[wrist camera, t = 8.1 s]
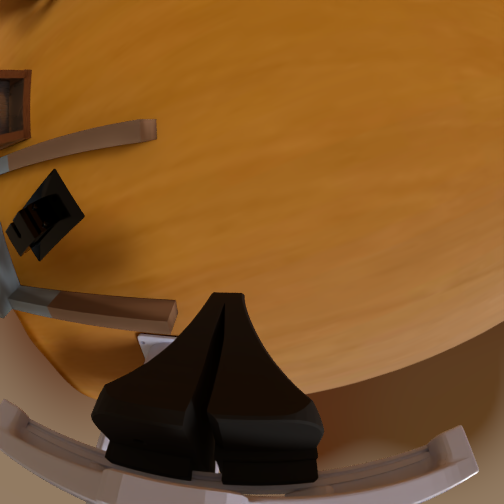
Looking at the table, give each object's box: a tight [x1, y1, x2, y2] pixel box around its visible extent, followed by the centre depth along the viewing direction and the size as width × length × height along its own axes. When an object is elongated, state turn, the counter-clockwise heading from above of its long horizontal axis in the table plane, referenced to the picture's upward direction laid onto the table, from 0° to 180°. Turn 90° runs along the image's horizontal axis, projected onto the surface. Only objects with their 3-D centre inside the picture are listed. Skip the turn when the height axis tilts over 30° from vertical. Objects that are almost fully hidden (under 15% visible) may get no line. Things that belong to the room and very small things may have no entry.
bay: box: [0, 119, 178, 335], centre depth 18 cm, size 17×23×5 cm
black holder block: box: [6, 169, 85, 261], centre depth 19 cm, size 12×7×5 cm, turn 119°
